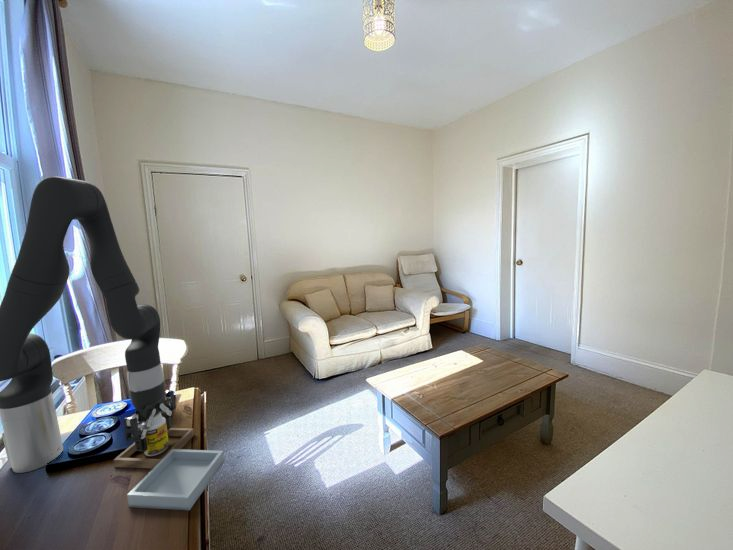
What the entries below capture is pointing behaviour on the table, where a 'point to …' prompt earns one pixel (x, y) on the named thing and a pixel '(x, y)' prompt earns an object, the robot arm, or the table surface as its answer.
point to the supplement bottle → (156, 436)
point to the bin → (176, 480)
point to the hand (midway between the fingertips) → (155, 439)
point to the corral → (128, 462)
